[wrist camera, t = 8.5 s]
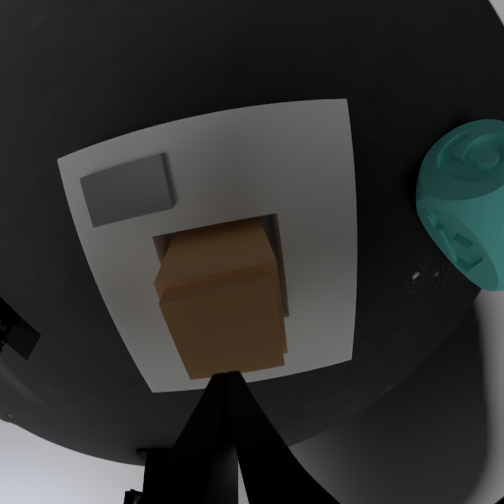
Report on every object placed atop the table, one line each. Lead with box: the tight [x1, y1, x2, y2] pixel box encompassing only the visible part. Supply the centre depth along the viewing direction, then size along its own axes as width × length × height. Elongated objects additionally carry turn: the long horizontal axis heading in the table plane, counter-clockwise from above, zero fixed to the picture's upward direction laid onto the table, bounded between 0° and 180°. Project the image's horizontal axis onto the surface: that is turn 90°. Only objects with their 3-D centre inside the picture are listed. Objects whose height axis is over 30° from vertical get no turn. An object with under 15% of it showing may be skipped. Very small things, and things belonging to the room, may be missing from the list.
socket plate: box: [57, 99, 357, 392], centre depth 15 cm, size 16×14×4 cm
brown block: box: [154, 216, 288, 380], centre depth 13 cm, size 5×5×7 cm
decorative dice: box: [416, 119, 504, 291], centre depth 13 cm, size 8×8×8 cm
